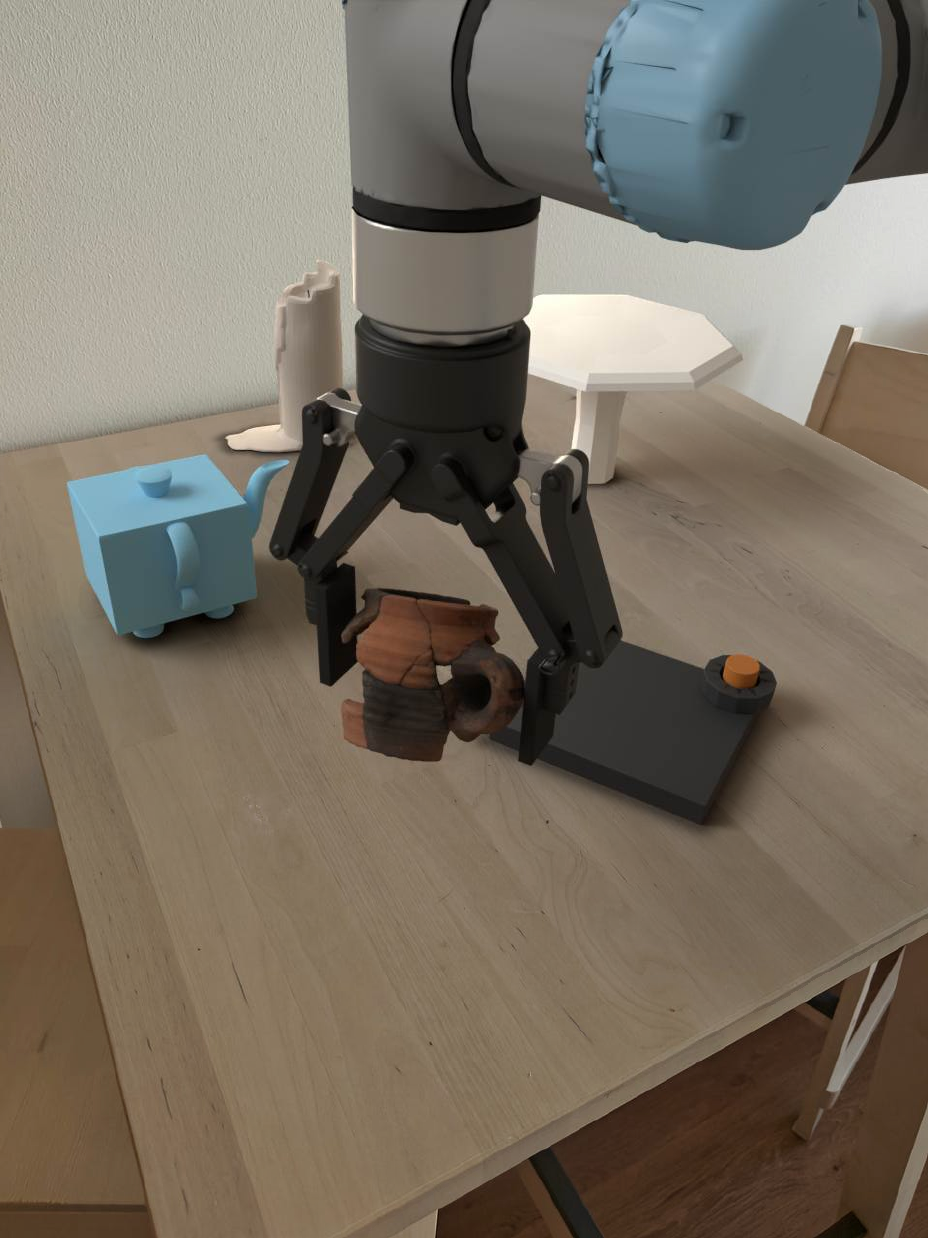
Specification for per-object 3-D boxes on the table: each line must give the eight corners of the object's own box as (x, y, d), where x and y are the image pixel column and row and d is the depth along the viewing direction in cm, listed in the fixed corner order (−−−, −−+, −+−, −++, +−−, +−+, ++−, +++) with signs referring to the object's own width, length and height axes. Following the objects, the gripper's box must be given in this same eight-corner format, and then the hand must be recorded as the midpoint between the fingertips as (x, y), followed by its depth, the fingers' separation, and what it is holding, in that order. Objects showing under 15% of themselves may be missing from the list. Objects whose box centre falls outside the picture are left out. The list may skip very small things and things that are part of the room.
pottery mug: (292, 730, 55) (313, 579, 54) (412, 722, 62) (431, 589, 61) (457, 791, 47) (484, 616, 46) (572, 774, 54) (597, 622, 53)
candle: (223, 430, 120) (205, 259, 109) (339, 421, 124) (333, 254, 112) (228, 457, 115) (210, 279, 103) (349, 447, 118) (344, 273, 106)
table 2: (707, 556, 101) (739, 398, 91) (438, 511, 106) (442, 358, 97) (722, 441, 123) (750, 305, 114) (499, 409, 128) (508, 276, 119)
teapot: (129, 668, 83) (103, 531, 75) (82, 576, 94) (55, 449, 86) (330, 610, 91) (324, 481, 83) (265, 532, 101) (255, 412, 94)
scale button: (760, 676, 80) (764, 660, 79) (750, 694, 78) (754, 678, 77) (728, 665, 81) (732, 650, 80) (718, 682, 79) (721, 667, 78)
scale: (774, 702, 82) (784, 669, 80) (711, 829, 71) (720, 793, 69) (576, 633, 89) (580, 601, 87) (488, 738, 77) (491, 703, 75)
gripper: (746, 346, 41) (665, 745, 53) (270, 248, 50) (296, 609, 62) (686, 408, 35) (612, 837, 48) (164, 286, 44) (216, 674, 57)
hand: (433, 709), depth 55 cm, fingers closed on pottery mug, 12 cm apart
